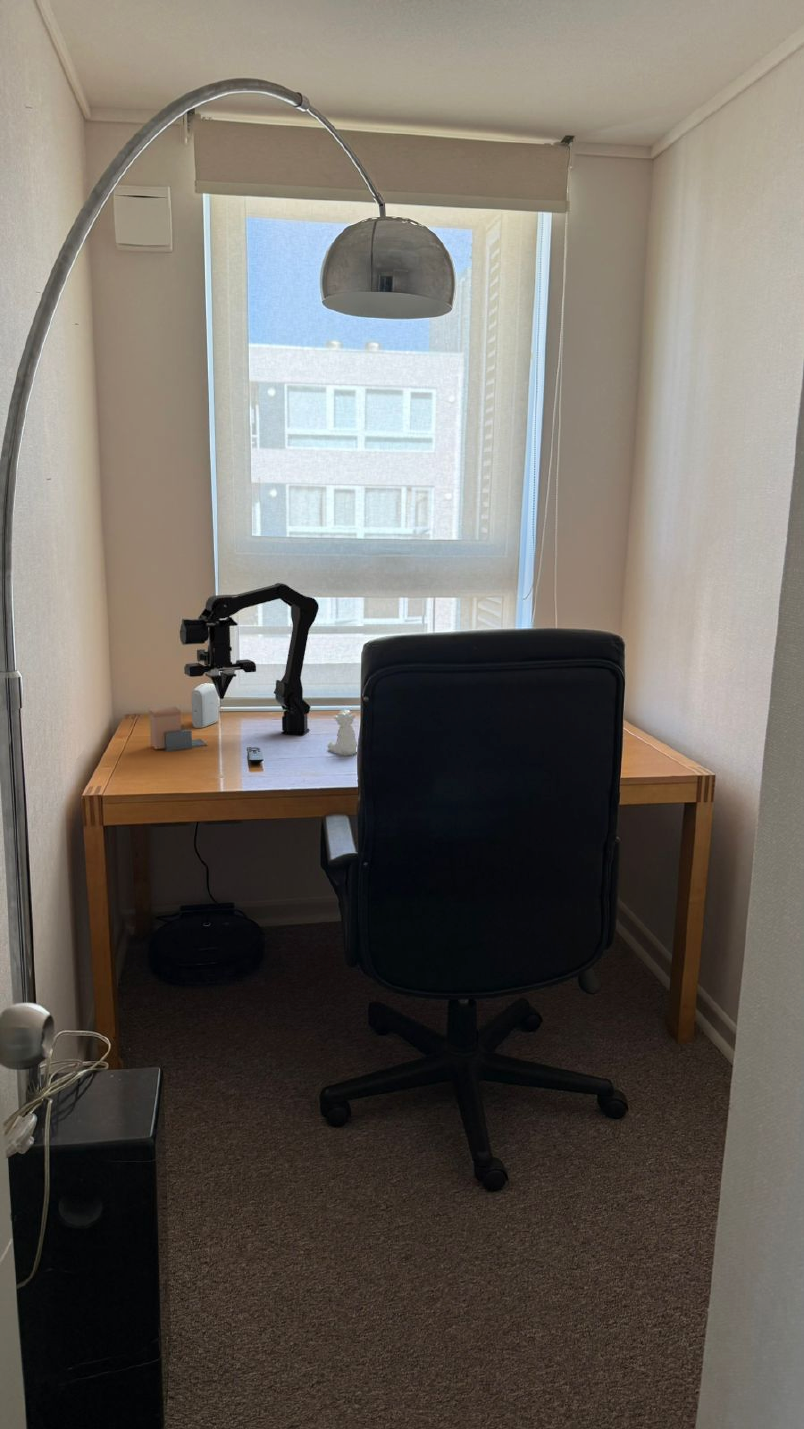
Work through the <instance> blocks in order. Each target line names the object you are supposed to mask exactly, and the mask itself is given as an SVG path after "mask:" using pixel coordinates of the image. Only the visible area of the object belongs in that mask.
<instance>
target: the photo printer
mask: <svg viewBox="0 0 804 1429" xmlns="http://www.w3.org/2000/svg"><path fill="white" fill-rule="evenodd" d="M190 695H191V715H192V716H191V718H192V719H191V720H192V721H191V722H192V723H191V724H192V727H194V728H195V729H204V728H206V727H209V726H211V725H213V724H215V723H217V722H219V721H220V704H219V696H218V693H217V691H216V688H215V685H214V683H211V682H210V683H209V682H205V683H202V684H200V685H198V686H196V687H195V688H194V689H193V690H192V692H191V694H190Z"/></svg>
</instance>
